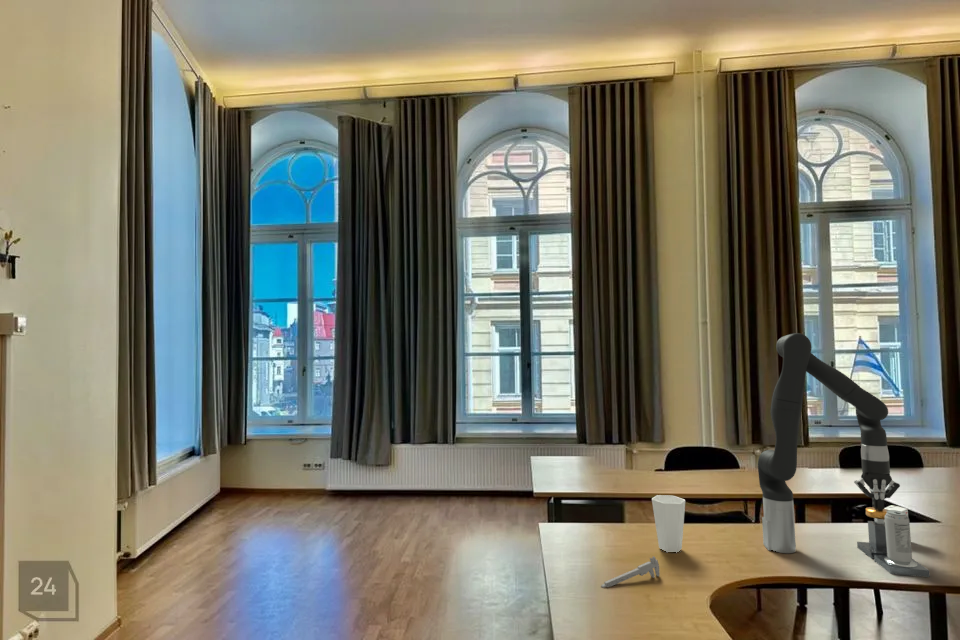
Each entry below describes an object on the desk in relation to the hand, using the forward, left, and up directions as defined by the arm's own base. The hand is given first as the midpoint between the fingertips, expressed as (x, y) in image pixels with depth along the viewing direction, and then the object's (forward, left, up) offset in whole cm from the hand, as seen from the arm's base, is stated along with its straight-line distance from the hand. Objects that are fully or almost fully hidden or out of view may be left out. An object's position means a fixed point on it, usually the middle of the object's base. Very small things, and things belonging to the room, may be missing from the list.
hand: (878, 510), depth 172 cm
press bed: (0, -12, -15) cm, 19 cm away
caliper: (-82, -40, -15) cm, 93 cm away
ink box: (+11, +14, -15) cm, 23 cm away
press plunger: (0, 0, -9) cm, 9 cm away
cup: (-68, -11, -15) cm, 70 cm away
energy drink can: (0, -12, -12) cm, 17 cm away
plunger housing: (0, 0, -15) cm, 15 cm away
